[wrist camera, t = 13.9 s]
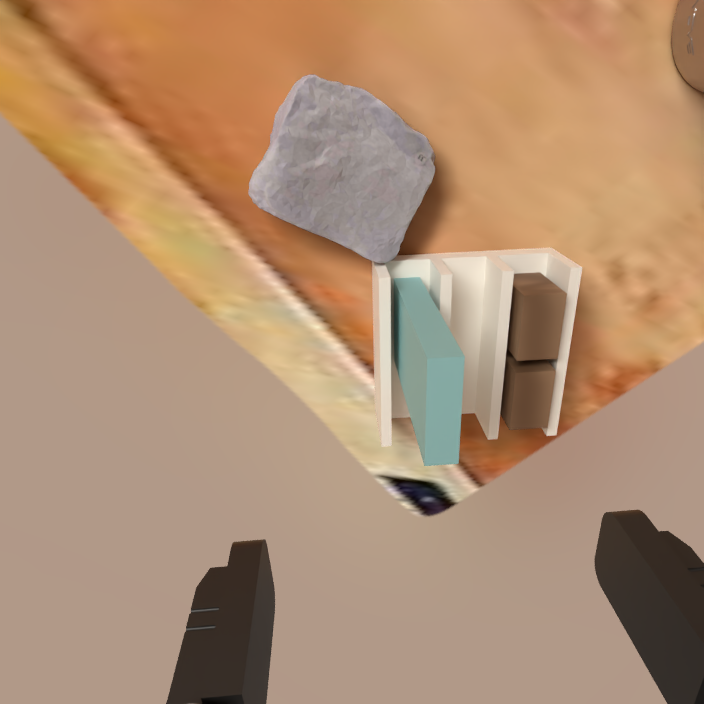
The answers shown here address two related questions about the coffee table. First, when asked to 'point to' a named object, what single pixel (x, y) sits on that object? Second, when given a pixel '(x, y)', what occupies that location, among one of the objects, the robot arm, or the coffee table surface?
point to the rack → (469, 324)
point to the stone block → (344, 168)
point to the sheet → (428, 371)
